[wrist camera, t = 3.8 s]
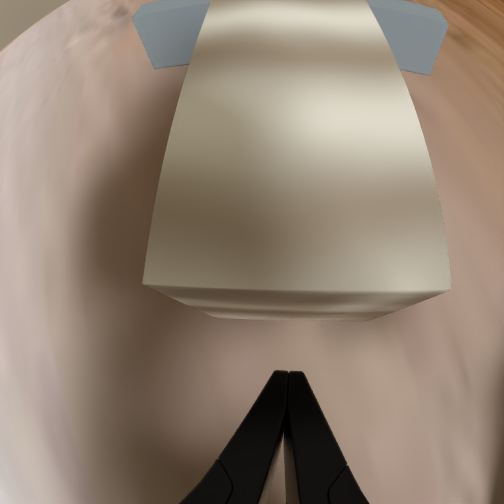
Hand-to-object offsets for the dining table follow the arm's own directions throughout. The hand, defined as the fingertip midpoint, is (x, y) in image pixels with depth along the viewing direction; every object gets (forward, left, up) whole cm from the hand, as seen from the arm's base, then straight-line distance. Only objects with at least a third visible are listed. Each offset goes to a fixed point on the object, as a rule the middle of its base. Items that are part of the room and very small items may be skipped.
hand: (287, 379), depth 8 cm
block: (+9, -5, -7) cm, 12 cm away
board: (+20, -12, -7) cm, 24 cm away
